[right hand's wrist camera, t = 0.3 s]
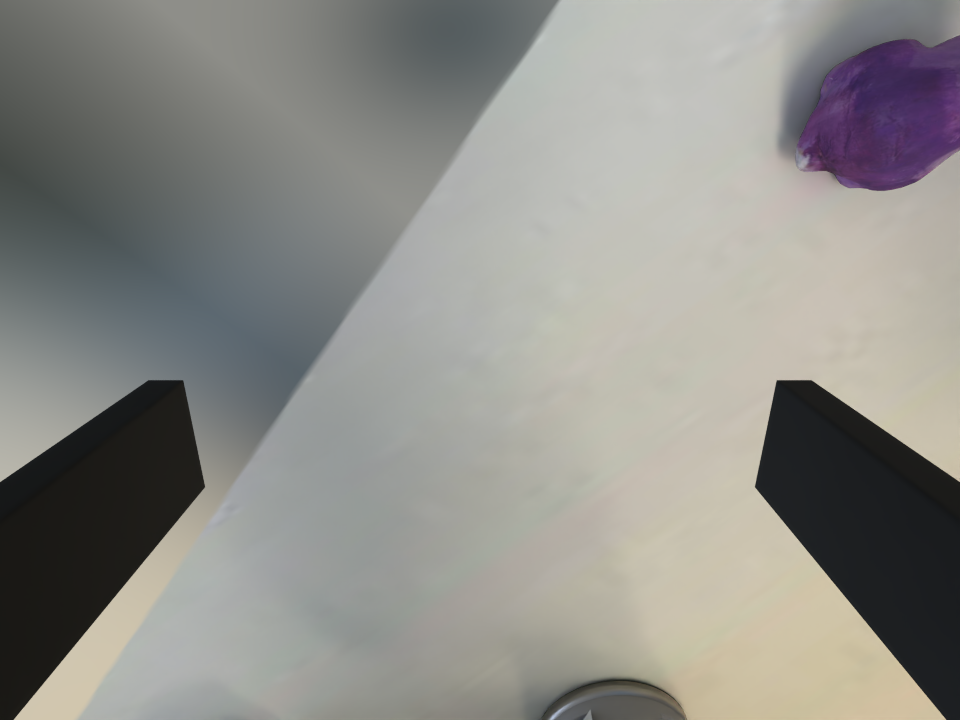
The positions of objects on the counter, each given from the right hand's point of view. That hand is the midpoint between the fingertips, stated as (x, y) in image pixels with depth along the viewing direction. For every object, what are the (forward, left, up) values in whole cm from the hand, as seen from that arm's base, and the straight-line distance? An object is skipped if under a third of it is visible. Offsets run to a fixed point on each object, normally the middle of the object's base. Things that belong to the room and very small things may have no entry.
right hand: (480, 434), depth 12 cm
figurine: (+9, -25, -28) cm, 39 cm away
